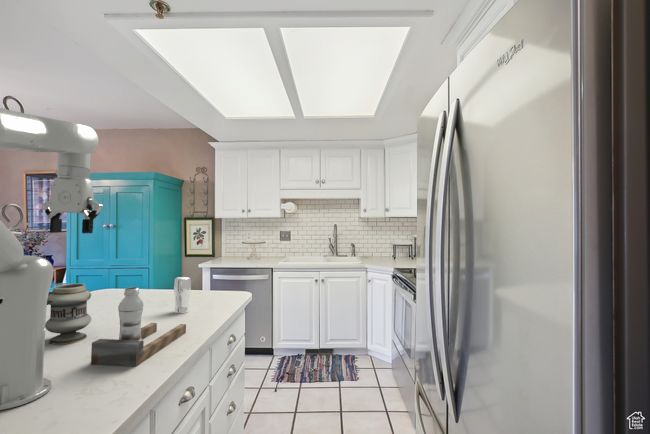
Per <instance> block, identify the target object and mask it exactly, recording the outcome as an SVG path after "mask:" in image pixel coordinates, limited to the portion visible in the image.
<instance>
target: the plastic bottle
mask: <svg viewBox="0 0 650 434" xmlns="http://www.w3.org/2000/svg"><path fill="white" fill-rule="evenodd" d="M139 294H140V288H139V287H138V286H137V287H136V286H130V287H125V288H124V293H123V295H124V298H123V299H121V301H120V302H119V304H118V307H117V309H118V316H119V334H118V335H119V336H118V340H139V341H143V339H142V338H141V328H142V327H141V326H142V324H141V323H142V316H143V311H144V302H143V300H142V299H141V297H140V296H139Z"/></svg>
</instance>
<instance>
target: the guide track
mask: <svg viewBox="0 0 650 434" xmlns="http://www.w3.org/2000/svg"><path fill="white" fill-rule="evenodd" d="M157 327H158V323H157V322H150V323H148V324H146V325H145V326H142V327H141V338H142V341H139V340H119V339H115V338H114V339H111V338H99V339H97V340H95V341H94V340H93V342H91V354H90V355H91V356H90V357H91V358H90V365H96V366H98V365H99V366H118V367H119V366H120V367H137V366H139V365H141V364H142V363H143V362H145V361H146V360H148V359H149V358H151V357H152V356H154V355H155V354H156V353H159V352H160V351H161V350H163V349H164V348H166V346H168V345H170V344H172V343H173V342H174V341H176V340H177V339H178V338H180V337H181V336H183V335H185V334H186V332H187V324H186V323H180V324H179V325H176V326H175V327H173V328H172V329H169V331H167V332H165V333H164V334H162V335H160V336H159V337H157V338H155V339H154V340H152V341H150V342H149V343H148V344H145V345H144V342H145V340H144V339H145V338H148V337H150V336H151V335H152V334H154V333H157Z"/></svg>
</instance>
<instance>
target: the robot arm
mask: <svg viewBox="0 0 650 434" xmlns="http://www.w3.org/2000/svg"><path fill="white" fill-rule="evenodd" d="M99 141H100V140H99V137H98V133H97V132H96V131H95V130H94V129H93V128H92V127H91V126H90V125H85V124H81V123H76V122H71V121H65V120H59V119H53V118H50V117H45V116H41V115H35V114H30V113H24V112H20V111H15V110H10V109H6V108H2V107H0V150H1V151H16V152H32V153H56V154H57V170H55V175H56V176H57V177H54V178H53V181H52V185H51V189H50V195H49V200H47V201H45V202H43V203H42V206H43V209H44V212H45V214H46V215H47V218H48V219H49V232H50V233H61V232H62V228H63V220H62V216H63V215H64V214H65V213H68V214H69V213H70V214H72V213H73V214H81V216H82V217H83V218H84V219H82V220H81V221H82V222H81V233H82V234H93V233H94V232H93V230H94V221H95V220H96V218H97V216H99V215H100V212H101V210H102V208H103V204H101V203H100V202H98V201H96V200H94V199H95V197H94V189H93V183H92V179H91V156H92V154H94V152H96V151H97V149H98V147H99V143H100V142H99ZM24 253H25V252H24V247H23V245H22V244H21V242H20V240H19V239H18V238H17V237H16V235H15V234H14V233H13V232H12V231H11V229H9V228H8V226H6V225H5V223H4V222H3V220H1V219H0V300H2V302H1V303H0V411H3V410H9V409H12V408H15V407H16V408H17V407H19V406H22V405H26V404H28V403H31V402H34V401H35V400H38V399H40V398H41V397H43V396H44V395H46V394H47V393H48V392H49V391H50V390H51V389H52V381H51V380H50V379H49V378H46V377H45V378H44V363H45V341H46V340H45V339H46V328H45V324H46V322H47V320H46V319H47V306H48V303H47V299H48V296H49V295H50V290H51V286H52V283H53V278H54V266H53V264H52V263H51V261H49V260H48V259H45V258H44V257H41V256H36V255H27V254H24Z"/></svg>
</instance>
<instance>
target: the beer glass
mask: <svg viewBox="0 0 650 434" xmlns="http://www.w3.org/2000/svg"><path fill="white" fill-rule="evenodd" d="M191 279H192V278H191V277H190V276H181V277H180V276H179V277H175V278H174V284H173V293H174V294H173V295H174V301H175V307H174V311H173V312H174V314H179V315H180V314H187V313H188V312H189V311H190V307H189V302H190V301H189V300H190V296H191V291H192V280H191Z"/></svg>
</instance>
